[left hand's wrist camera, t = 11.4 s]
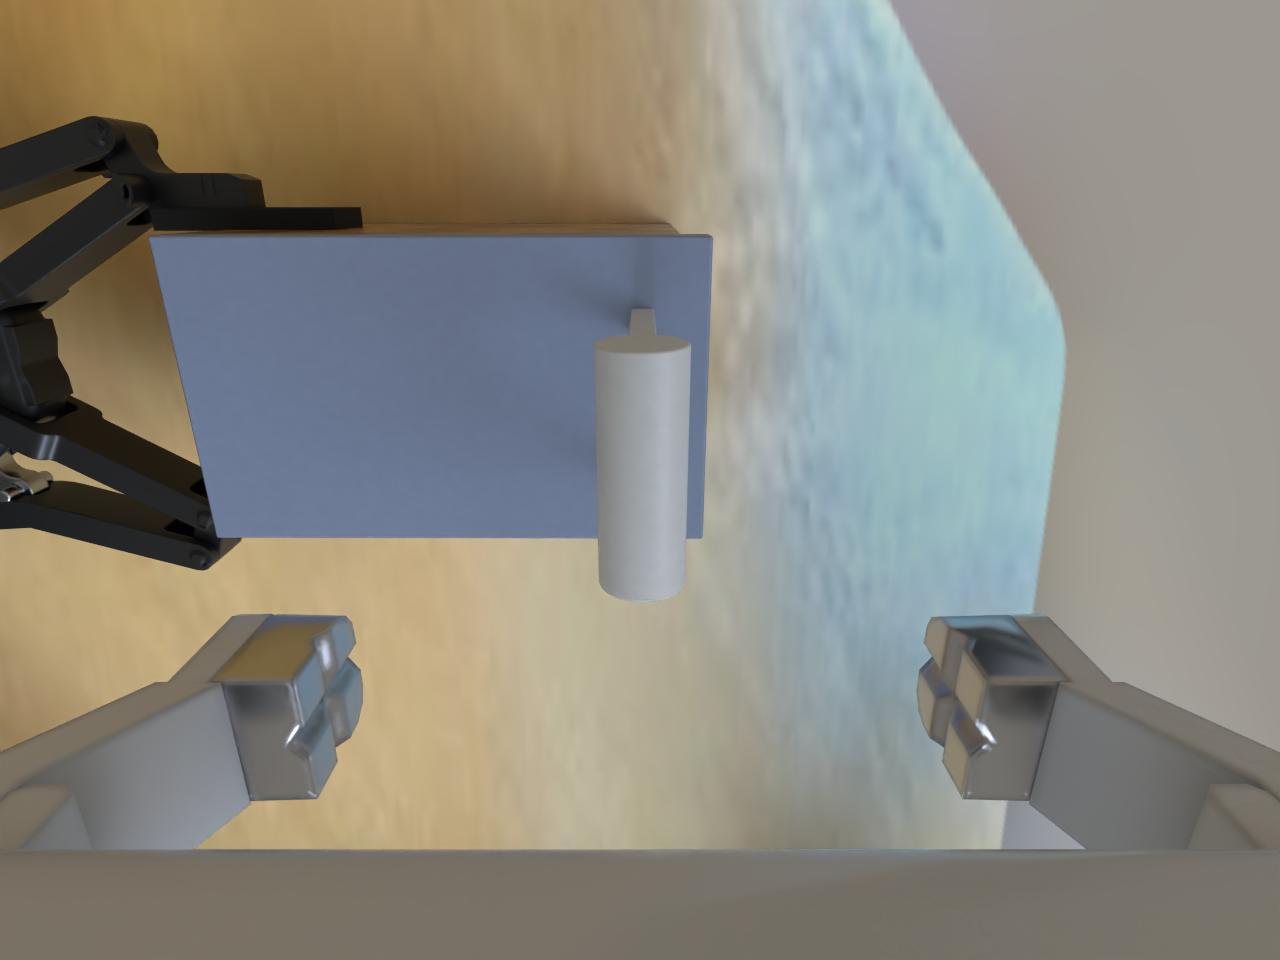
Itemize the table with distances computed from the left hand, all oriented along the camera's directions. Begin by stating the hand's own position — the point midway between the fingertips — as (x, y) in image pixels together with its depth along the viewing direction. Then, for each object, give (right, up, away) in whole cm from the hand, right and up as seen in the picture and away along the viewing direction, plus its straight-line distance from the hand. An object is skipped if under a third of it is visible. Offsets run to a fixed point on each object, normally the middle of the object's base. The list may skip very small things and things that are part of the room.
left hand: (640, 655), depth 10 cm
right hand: (-11, +7, +19) cm, 23 cm away
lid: (-6, +6, +14) cm, 17 cm away
